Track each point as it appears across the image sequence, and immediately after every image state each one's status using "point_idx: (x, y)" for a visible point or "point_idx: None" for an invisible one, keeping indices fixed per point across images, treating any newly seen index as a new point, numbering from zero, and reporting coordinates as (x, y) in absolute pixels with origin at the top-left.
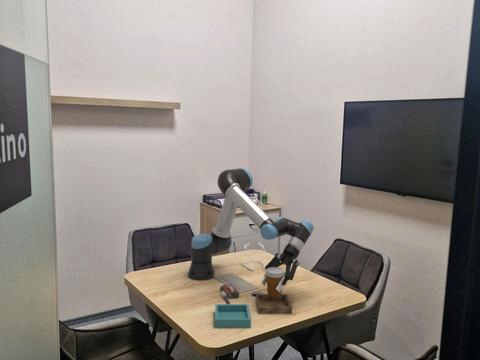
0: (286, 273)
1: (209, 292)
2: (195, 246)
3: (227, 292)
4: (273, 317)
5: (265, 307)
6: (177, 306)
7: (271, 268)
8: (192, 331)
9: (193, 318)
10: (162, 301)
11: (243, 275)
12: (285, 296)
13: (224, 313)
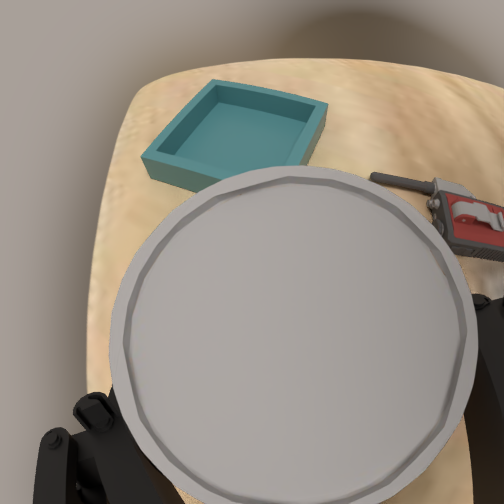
0: (112, 466)
1: (477, 175)
2: None
3: (451, 195)
4: None
5: None
6: (381, 79)
7: (449, 324)
8: (227, 67)
9: (297, 79)
10: (412, 73)
11: None
12: None
13: (288, 134)
